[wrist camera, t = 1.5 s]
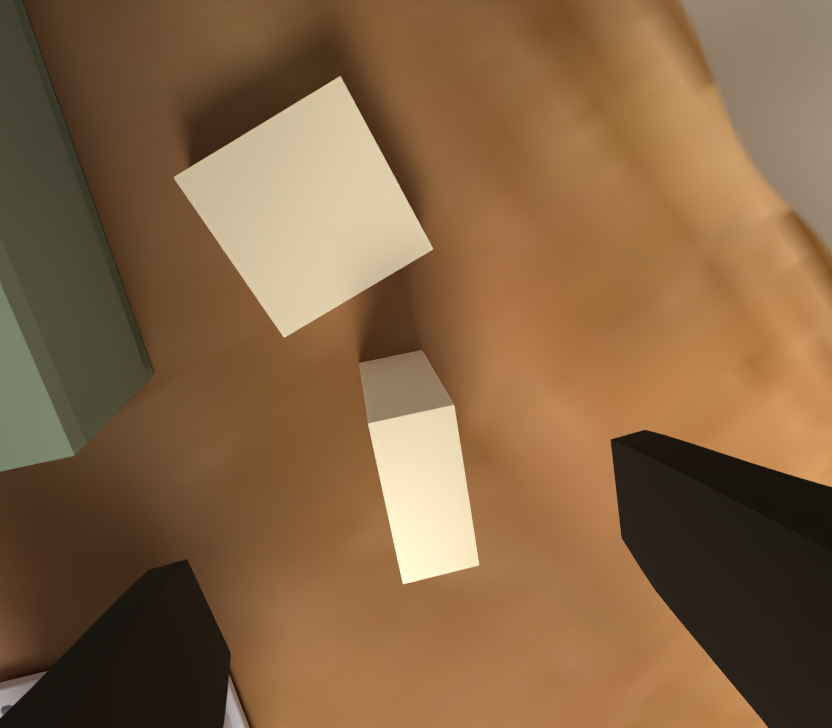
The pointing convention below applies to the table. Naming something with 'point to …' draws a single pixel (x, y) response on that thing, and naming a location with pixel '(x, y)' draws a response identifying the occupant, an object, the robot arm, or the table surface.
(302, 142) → the block
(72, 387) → the box
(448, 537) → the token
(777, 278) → the table surface
